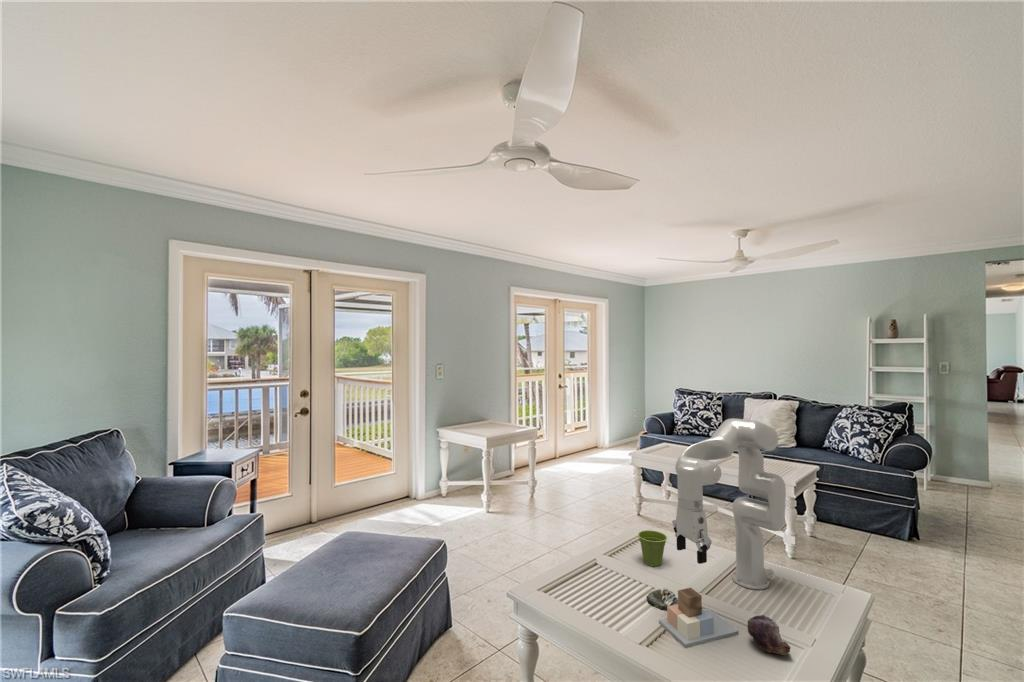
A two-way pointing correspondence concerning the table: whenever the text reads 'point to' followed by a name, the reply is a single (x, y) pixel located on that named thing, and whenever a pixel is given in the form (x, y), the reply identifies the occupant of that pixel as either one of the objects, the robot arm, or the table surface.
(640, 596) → the table surface
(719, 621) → the assembly board
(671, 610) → the terracotta block
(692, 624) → the cream block
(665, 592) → the grey oval shell
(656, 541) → the plant pot
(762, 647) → the rock
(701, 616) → the blue block
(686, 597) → the walnut block
